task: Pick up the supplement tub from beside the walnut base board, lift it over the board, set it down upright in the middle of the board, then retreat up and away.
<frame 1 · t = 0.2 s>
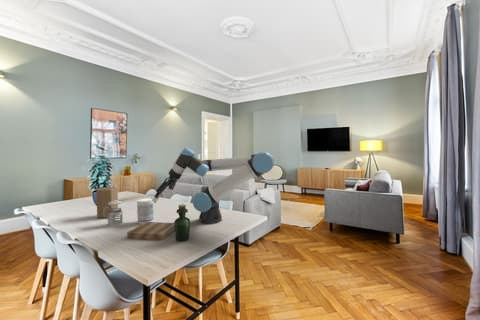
hand: (159, 199, 134), 16 cm above the table, tool tilted 35°, fingers open, 13 cm apart
walnut base: (153, 232, 122), on the table
potion bottle: (182, 239, 113), on the table
french press: (114, 225, 136), on the table
block: (107, 216, 154), on the table
supplement tub: (145, 222, 141), on the table
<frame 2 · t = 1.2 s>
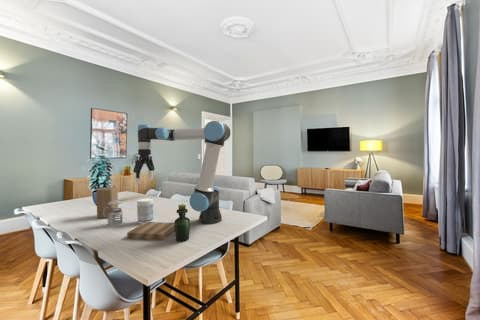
hand: (144, 181, 140), 26 cm above the table, tool pointing down, fingers open, 13 cm apart
nothing on the table moved.
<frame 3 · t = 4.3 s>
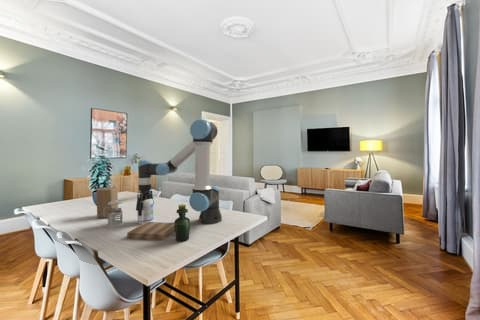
hand: (145, 218, 141), 3 cm above the table, tool pointing down, fingers closed on supplement tub, 9 cm apart
supplement tub: (145, 222, 141), on the table, touching gripper
everything else where it was.
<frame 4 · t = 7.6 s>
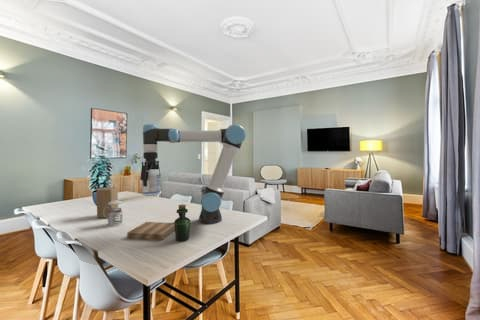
hand: (151, 190, 125), 23 cm above the table, tool pointing down, fingers closed on supplement tub, 9 cm apart
supplement tub: (151, 195, 125), point 21 cm above the table, touching gripper
everything else where it was.
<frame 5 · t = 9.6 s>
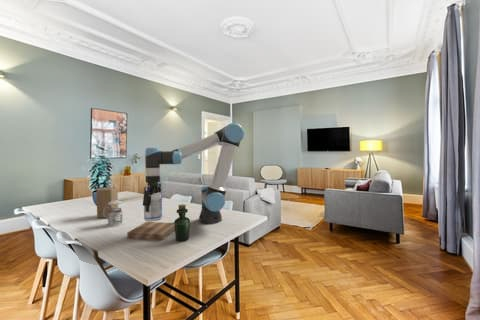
hand: (153, 214, 122), 10 cm above the table, tool pointing down, fingers closed on supplement tub, 9 cm apart
supplement tub: (153, 219, 122), point 8 cm above the table, touching gripper
everything else where it was.
when the fingers open (7 cm above the table, at t = 11.1 s): supplement tub drops 1 cm, resting on walnut base.
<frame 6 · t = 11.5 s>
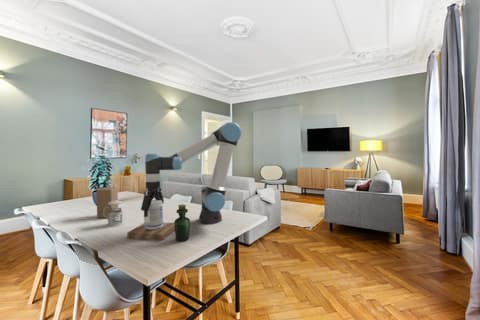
hand: (153, 218, 122), 8 cm above the table, tool pointing down, fingers open, 13 cm apart
supplement tub: (154, 227, 122), point 3 cm above the table, touching walnut base
everything else where it was.
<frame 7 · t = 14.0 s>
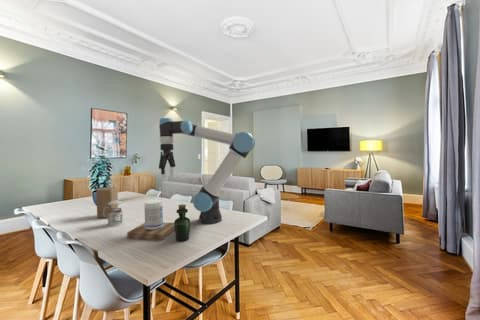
hand: (168, 178, 133), 29 cm above the table, tool pointing down, fingers open, 13 cm apart
nothing on the table moved.
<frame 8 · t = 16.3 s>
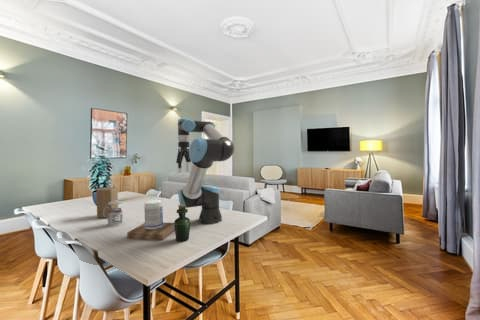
hand: (184, 172, 151), 32 cm above the table, tool pointing down, fingers open, 13 cm apart
nothing on the table moved.
at the end: supplement tub inside the target area on the walnut base (0.3 cm from its centre), point 2.8 cm above the walnut base's base; supplement tub tilted 0°; the gripper is holding nothing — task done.
